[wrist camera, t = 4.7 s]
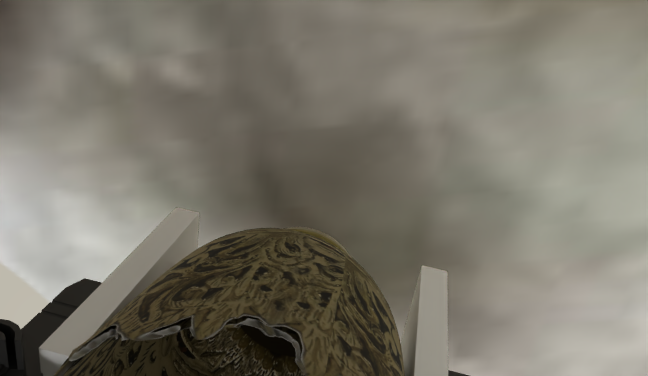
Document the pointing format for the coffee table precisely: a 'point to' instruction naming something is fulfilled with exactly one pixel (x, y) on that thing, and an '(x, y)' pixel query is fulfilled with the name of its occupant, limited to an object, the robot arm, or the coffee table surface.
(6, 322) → the robot arm
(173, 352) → the ornate bell
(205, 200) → the coffee table surface
